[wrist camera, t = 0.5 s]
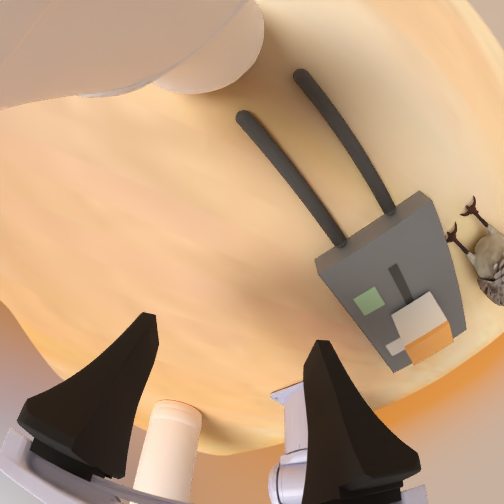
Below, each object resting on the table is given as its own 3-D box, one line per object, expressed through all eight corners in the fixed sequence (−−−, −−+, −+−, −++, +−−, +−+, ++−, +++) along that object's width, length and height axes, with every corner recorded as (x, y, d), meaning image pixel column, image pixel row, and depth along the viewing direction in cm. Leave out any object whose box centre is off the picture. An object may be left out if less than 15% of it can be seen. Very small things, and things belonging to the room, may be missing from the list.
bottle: (154, 413, 39) (121, 563, 13) (153, 393, 35) (111, 571, 9) (200, 424, 39) (178, 577, 14) (206, 407, 35) (179, 588, 10)
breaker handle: (436, 310, 21) (453, 341, 17) (400, 332, 22) (413, 365, 19) (429, 290, 20) (449, 323, 16) (391, 315, 21) (405, 350, 18)
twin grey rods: (394, 207, 19) (399, 212, 18) (336, 245, 21) (338, 252, 20) (301, 66, 14) (303, 65, 13) (233, 116, 16) (231, 117, 15)
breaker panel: (459, 317, 24) (466, 329, 23) (389, 359, 28) (393, 373, 26) (419, 190, 18) (432, 200, 16) (314, 259, 21) (318, 275, 20)
